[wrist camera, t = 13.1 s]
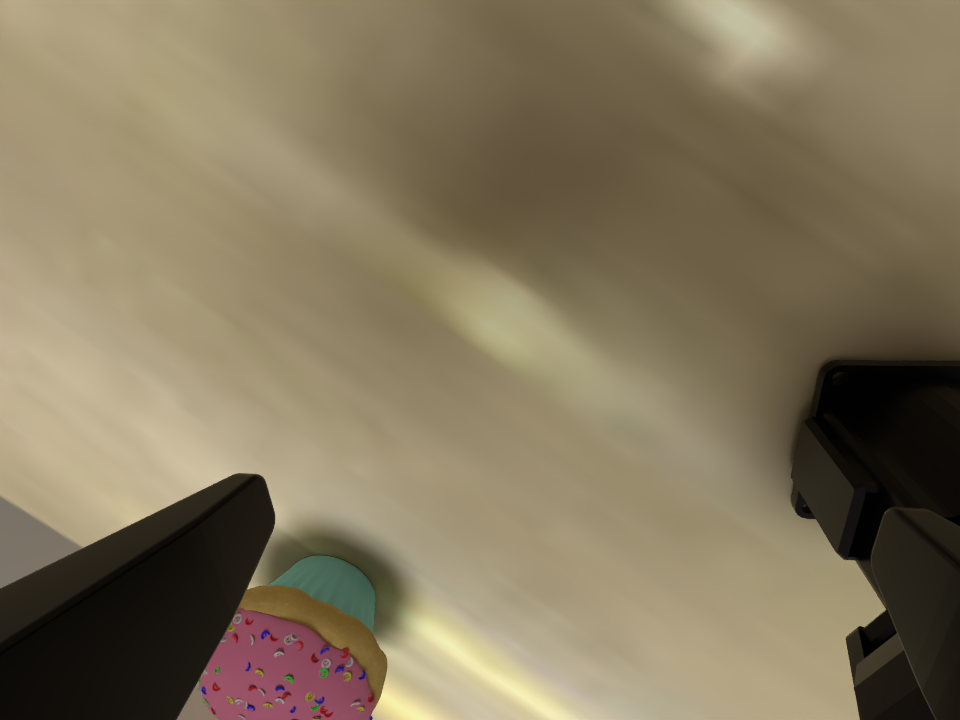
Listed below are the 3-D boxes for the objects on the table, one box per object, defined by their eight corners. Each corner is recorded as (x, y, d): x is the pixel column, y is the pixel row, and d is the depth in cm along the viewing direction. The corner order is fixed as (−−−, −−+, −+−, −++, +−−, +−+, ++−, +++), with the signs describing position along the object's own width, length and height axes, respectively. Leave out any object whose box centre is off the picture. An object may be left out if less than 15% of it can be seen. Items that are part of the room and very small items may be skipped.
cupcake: (346, 663, 30) (215, 971, 19) (227, 573, 28) (11, 852, 17) (444, 600, 26) (351, 933, 15) (314, 493, 25) (110, 781, 14)
